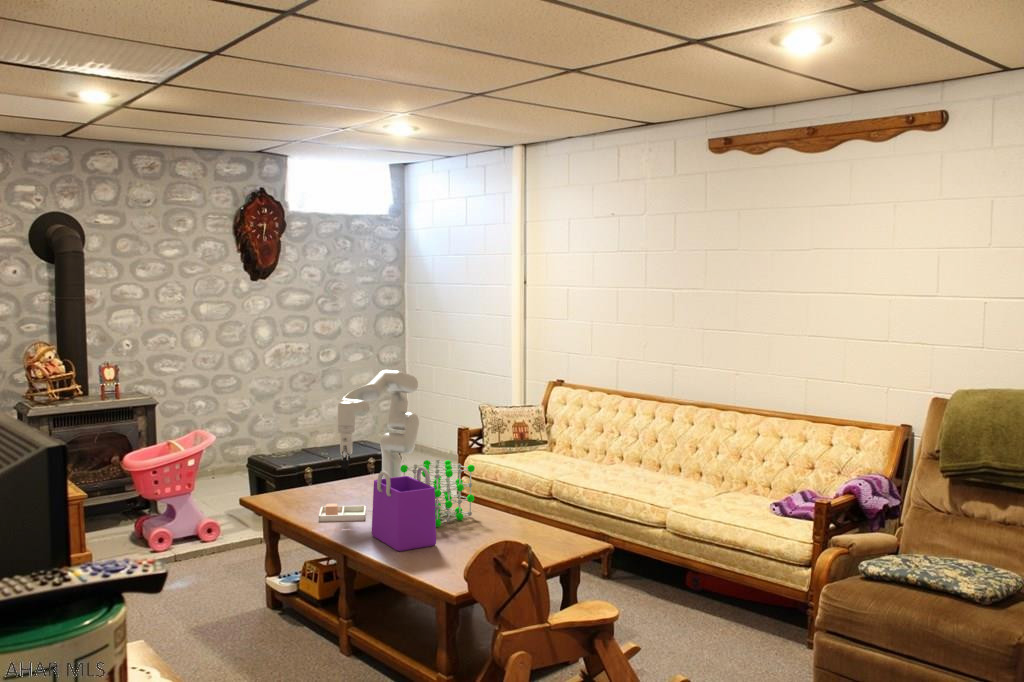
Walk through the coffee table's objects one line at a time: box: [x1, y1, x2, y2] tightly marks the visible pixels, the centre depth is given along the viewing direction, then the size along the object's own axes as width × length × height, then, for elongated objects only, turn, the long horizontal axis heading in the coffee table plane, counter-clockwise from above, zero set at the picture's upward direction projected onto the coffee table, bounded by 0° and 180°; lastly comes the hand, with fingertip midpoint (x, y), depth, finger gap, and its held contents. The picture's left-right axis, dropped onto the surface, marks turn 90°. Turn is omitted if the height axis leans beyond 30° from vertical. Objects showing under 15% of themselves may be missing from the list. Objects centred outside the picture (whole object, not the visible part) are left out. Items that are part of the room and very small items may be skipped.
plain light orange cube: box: [325, 503, 339, 515], centre depth 386 cm, size 5×5×5 cm
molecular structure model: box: [400, 458, 476, 528], centre depth 388 cm, size 24×25×24 cm
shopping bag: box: [371, 466, 437, 552], centre depth 352 cm, size 28×22×30 cm
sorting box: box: [318, 505, 367, 522], centre depth 387 cm, size 20×16×3 cm
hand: (345, 466), depth 390 cm, fingers open, 9 cm apart
